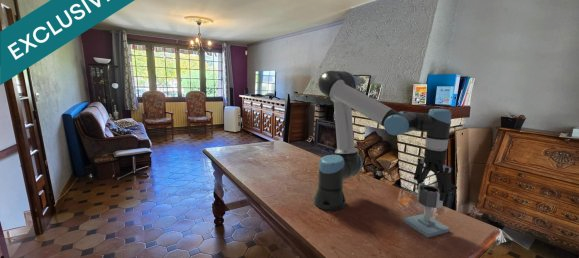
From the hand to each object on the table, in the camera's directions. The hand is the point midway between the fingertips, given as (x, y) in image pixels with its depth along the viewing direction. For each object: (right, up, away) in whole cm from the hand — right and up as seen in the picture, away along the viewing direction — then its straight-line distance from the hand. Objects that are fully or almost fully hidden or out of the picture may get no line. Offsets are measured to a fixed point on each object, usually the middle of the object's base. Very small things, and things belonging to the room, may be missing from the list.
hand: (429, 202), depth 102 cm
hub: (0, 0, 0) cm, 0 cm away
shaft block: (0, -11, +2) cm, 11 cm away
